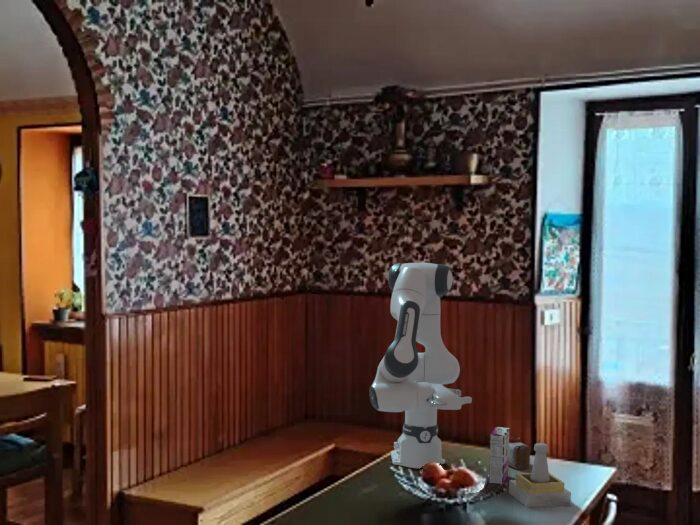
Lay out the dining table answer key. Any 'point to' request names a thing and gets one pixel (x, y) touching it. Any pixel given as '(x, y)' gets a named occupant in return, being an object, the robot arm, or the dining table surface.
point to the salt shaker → (540, 464)
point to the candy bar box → (499, 455)
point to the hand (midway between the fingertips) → (465, 396)
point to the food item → (518, 454)
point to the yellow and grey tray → (539, 491)
